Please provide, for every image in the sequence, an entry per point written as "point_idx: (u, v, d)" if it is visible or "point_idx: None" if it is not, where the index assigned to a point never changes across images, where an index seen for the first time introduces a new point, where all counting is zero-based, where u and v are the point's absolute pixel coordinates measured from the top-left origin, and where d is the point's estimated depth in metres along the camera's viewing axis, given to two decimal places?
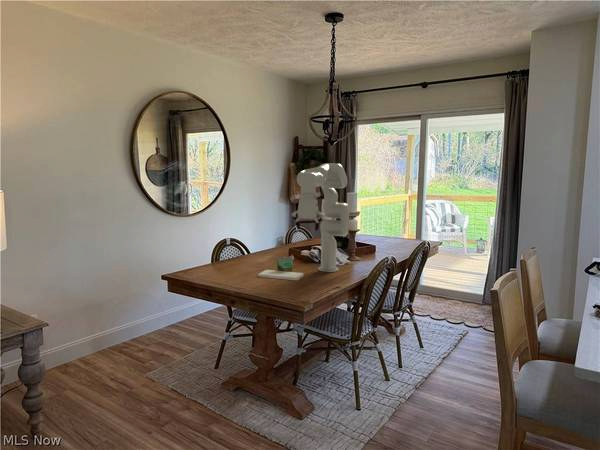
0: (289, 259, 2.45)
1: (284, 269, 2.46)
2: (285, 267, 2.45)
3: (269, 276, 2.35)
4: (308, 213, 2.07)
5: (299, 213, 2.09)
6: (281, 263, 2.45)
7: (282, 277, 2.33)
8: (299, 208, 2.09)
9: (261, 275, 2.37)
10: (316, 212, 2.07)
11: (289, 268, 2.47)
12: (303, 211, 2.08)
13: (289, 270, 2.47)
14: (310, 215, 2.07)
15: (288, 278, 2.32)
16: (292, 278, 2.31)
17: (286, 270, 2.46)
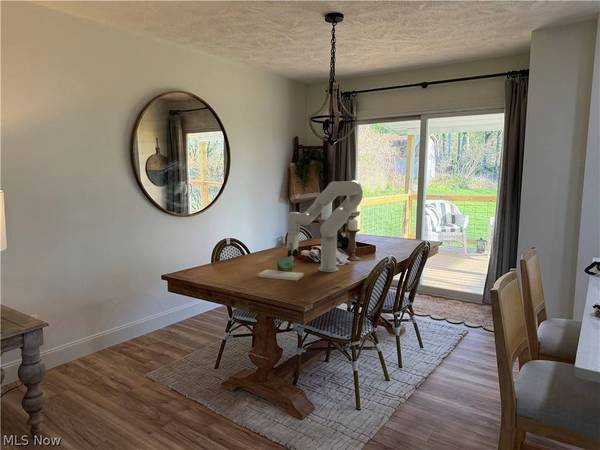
0: (289, 259, 2.45)
1: (284, 269, 2.45)
2: (285, 267, 2.45)
3: (269, 276, 2.35)
4: (297, 244, 2.59)
5: (294, 246, 2.54)
6: (281, 263, 2.45)
7: (282, 277, 2.33)
8: (294, 242, 2.54)
9: (261, 275, 2.37)
10: None
11: (289, 268, 2.47)
12: (295, 244, 2.56)
13: (289, 270, 2.47)
14: (297, 245, 2.60)
15: (288, 278, 2.32)
16: (292, 278, 2.31)
17: (286, 270, 2.46)
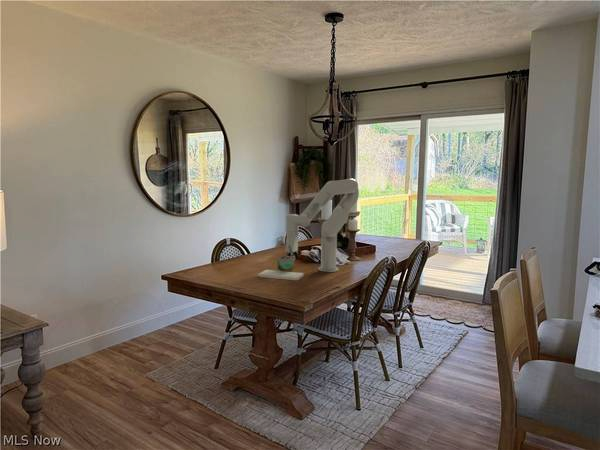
0: (290, 261, 2.43)
1: (285, 269, 2.45)
2: (285, 268, 2.44)
3: (269, 276, 2.35)
4: (296, 247, 2.56)
5: (293, 248, 2.52)
6: (282, 263, 2.43)
7: (282, 277, 2.33)
8: (293, 244, 2.51)
9: (261, 275, 2.37)
10: None
11: (289, 268, 2.46)
12: (295, 246, 2.53)
13: (289, 270, 2.47)
14: (296, 248, 2.57)
15: (288, 278, 2.32)
16: (292, 278, 2.31)
17: (286, 270, 2.45)
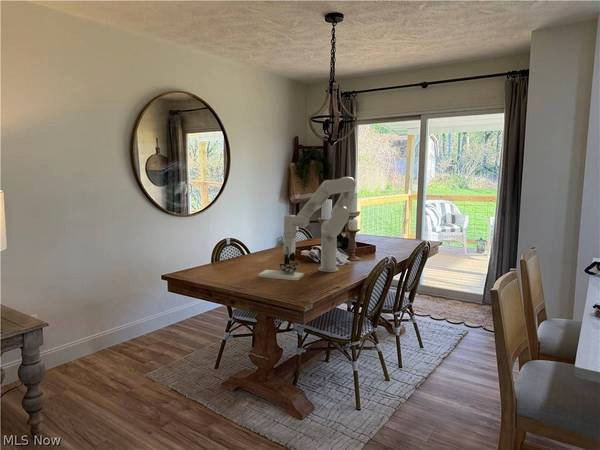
0: (288, 273, 2.38)
1: None
2: None
3: (269, 276, 2.35)
4: (293, 248, 2.52)
5: (290, 250, 2.47)
6: None
7: (282, 277, 2.33)
8: (291, 245, 2.47)
9: (261, 275, 2.37)
10: None
11: None
12: (292, 247, 2.49)
13: None
14: (294, 249, 2.53)
15: (288, 278, 2.32)
16: (292, 278, 2.31)
17: None
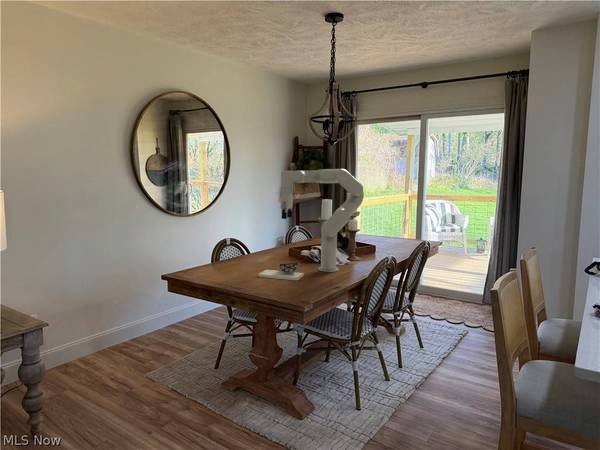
0: (288, 273, 2.38)
1: None
2: None
3: (269, 276, 2.35)
4: (291, 204, 2.54)
5: (288, 204, 2.50)
6: None
7: (282, 277, 2.33)
8: (288, 200, 2.50)
9: (261, 275, 2.37)
10: None
11: None
12: (289, 203, 2.52)
13: None
14: (291, 205, 2.56)
15: (288, 278, 2.32)
16: (292, 278, 2.31)
17: None
